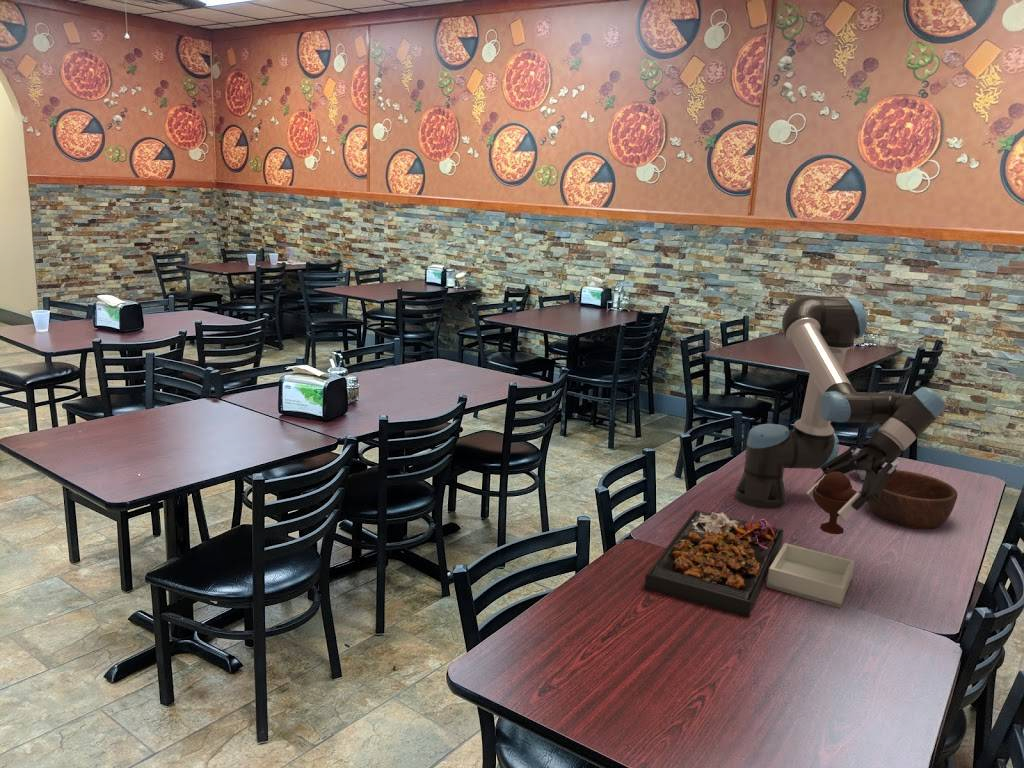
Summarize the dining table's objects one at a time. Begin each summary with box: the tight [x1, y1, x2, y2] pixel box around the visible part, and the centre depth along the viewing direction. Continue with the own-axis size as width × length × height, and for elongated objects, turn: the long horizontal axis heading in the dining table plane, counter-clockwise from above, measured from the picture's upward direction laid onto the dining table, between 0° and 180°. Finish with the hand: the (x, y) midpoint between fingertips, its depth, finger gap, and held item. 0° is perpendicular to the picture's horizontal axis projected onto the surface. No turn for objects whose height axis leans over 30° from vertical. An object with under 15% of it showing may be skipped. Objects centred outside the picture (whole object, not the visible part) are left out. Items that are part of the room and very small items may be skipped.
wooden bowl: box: [866, 469, 958, 530], centre depth 240 cm, size 25×25×10 cm
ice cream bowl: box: [813, 472, 859, 535], centre depth 191 cm, size 11×11×15 cm
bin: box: [766, 542, 855, 609], centre depth 197 cm, size 17×17×5 cm
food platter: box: [644, 509, 784, 618], centre depth 204 cm, size 45×25×10 cm, turn 153°
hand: (825, 506), depth 191 cm, fingers closed on ice cream bowl, 11 cm apart
